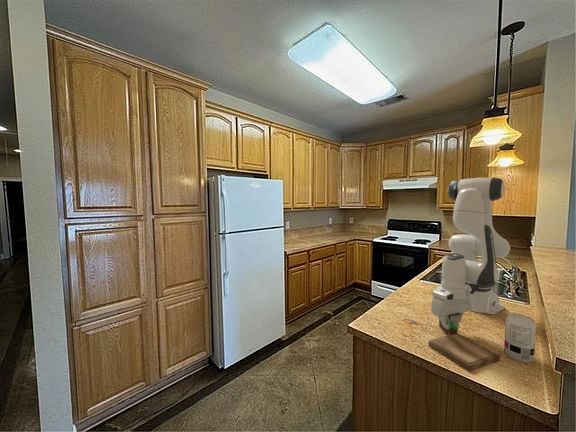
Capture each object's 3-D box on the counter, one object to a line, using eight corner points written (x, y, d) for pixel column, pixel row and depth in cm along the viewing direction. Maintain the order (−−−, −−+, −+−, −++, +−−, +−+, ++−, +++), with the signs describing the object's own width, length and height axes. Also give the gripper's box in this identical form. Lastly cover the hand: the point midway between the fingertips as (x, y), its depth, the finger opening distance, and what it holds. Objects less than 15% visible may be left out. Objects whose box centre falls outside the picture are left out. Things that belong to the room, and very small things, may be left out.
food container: (466, 341, 103) (467, 317, 102) (449, 339, 104) (451, 316, 103) (452, 326, 115) (453, 305, 114) (437, 325, 116) (438, 304, 115)
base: (456, 337, 105) (456, 332, 105) (499, 360, 90) (500, 354, 90) (428, 345, 100) (428, 340, 100) (469, 371, 85) (469, 365, 85)
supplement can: (498, 350, 96) (500, 313, 95) (517, 349, 97) (519, 312, 96) (519, 364, 88) (521, 323, 87) (540, 363, 89) (543, 322, 88)
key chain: (399, 323, 118) (399, 322, 118) (405, 318, 123) (405, 316, 123) (429, 333, 109) (429, 332, 109) (434, 327, 114) (434, 325, 114)
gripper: (462, 286, 114) (461, 316, 114) (429, 292, 107) (427, 323, 107) (477, 291, 108) (475, 322, 108) (442, 297, 101) (441, 330, 102)
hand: (451, 322), depth 108 cm, fingers closed on food container, 7 cm apart
